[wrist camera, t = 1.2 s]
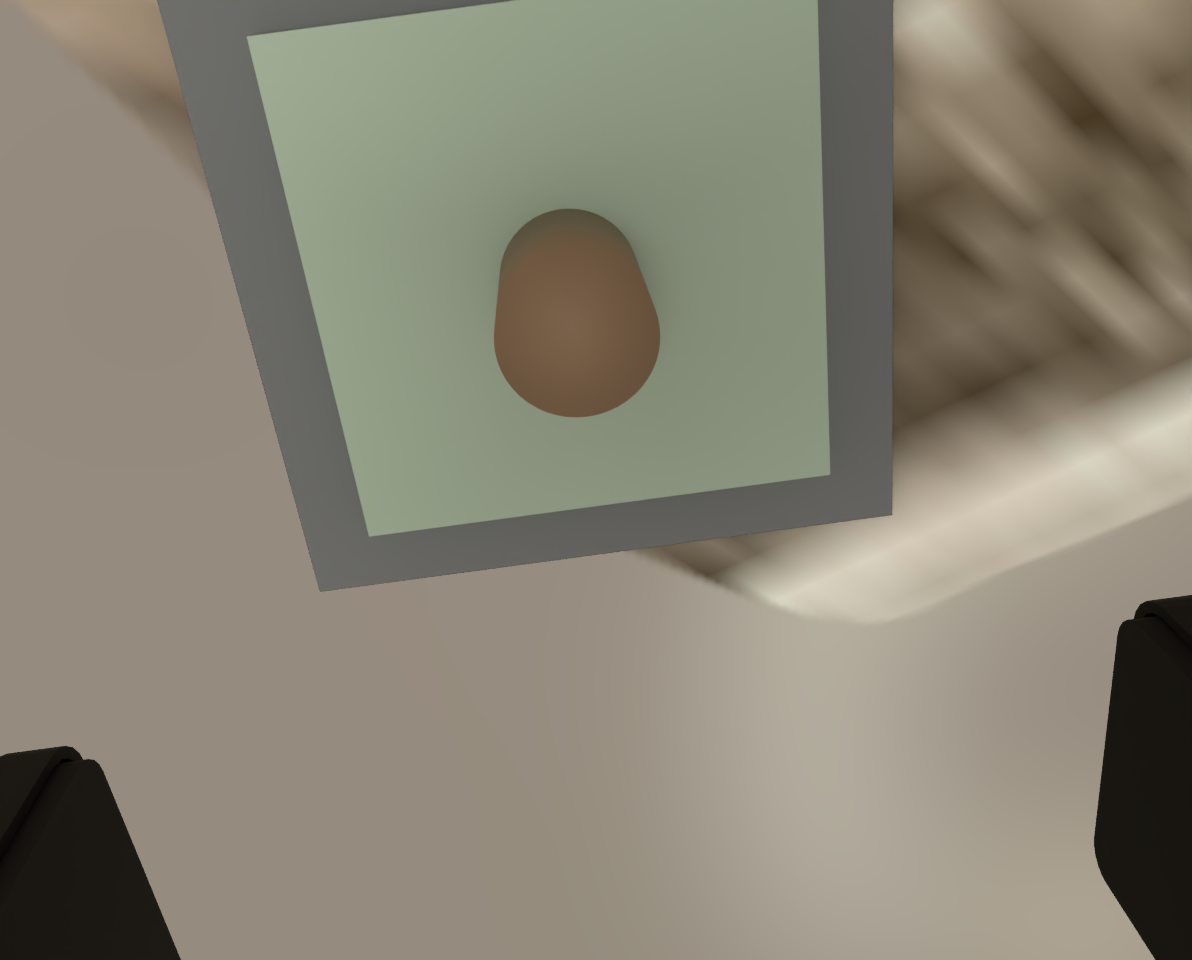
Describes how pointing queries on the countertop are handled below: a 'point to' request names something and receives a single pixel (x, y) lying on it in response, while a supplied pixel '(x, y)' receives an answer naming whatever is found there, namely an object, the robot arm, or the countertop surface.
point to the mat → (352, 559)
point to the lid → (560, 248)
